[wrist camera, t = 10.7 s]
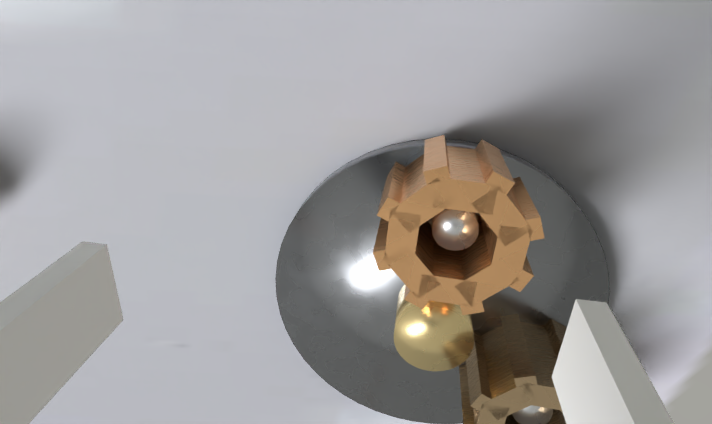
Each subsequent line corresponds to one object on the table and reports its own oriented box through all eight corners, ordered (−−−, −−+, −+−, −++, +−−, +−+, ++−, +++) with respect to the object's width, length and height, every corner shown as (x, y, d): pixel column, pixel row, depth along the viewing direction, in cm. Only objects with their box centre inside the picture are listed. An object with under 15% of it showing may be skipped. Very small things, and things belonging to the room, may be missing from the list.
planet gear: (392, 128, 28) (383, 157, 23) (535, 145, 28) (561, 179, 22) (378, 250, 32) (367, 300, 27) (504, 268, 31) (520, 324, 26)
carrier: (284, 119, 31) (242, 151, 24) (650, 162, 28) (719, 211, 22) (279, 383, 40) (248, 459, 34) (553, 431, 38) (580, 523, 31)
